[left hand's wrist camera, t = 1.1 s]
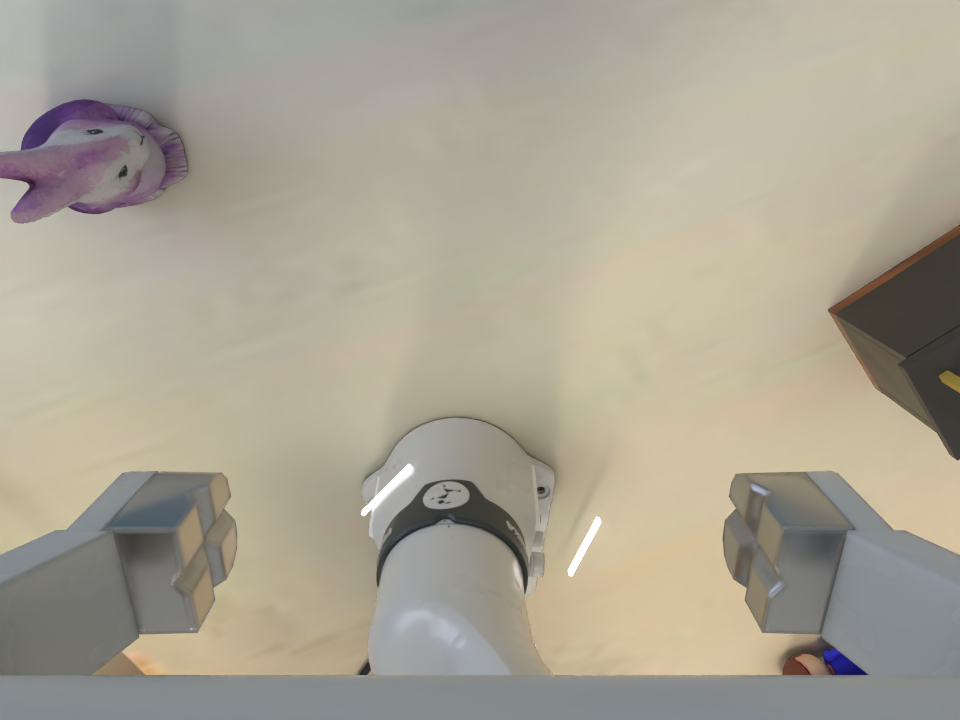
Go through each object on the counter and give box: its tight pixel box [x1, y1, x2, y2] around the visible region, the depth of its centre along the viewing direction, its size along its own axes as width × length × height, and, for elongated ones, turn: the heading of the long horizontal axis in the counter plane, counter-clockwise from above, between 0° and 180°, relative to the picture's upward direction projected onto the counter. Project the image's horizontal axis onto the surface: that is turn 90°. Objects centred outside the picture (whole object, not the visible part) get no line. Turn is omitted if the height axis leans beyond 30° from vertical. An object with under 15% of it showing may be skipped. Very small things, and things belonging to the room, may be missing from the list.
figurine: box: [0, 99, 188, 224], centre depth 44 cm, size 9×10×15 cm
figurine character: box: [783, 648, 868, 675], centre depth 68 cm, size 7×8×15 cm
